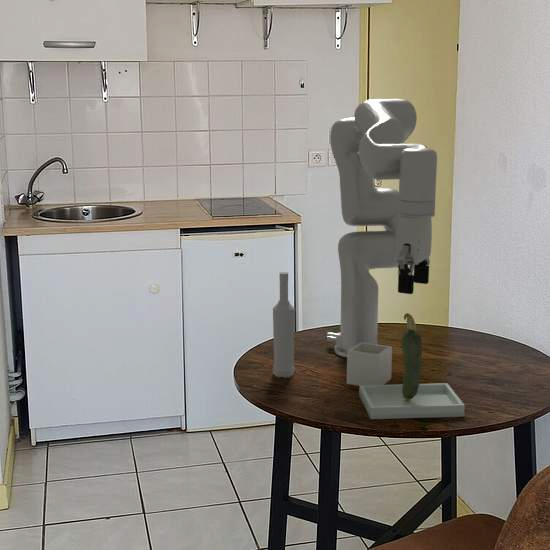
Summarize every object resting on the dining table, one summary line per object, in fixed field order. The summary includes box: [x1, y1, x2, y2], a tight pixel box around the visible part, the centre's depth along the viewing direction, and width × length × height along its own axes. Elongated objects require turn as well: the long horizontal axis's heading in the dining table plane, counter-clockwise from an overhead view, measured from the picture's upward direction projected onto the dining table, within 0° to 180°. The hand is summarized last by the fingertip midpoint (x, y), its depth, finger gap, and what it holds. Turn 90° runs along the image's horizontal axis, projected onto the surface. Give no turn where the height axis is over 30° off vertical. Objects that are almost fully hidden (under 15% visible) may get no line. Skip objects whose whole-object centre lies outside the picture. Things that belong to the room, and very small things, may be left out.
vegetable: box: [401, 312, 423, 401], centre depth 196 cm, size 4×4×20 cm
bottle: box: [272, 271, 296, 379], centre depth 216 cm, size 5×5×25 cm
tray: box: [358, 382, 466, 420], centre depth 198 cm, size 20×14×2 cm
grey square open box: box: [346, 342, 393, 387], centre depth 213 cm, size 8×8×8 cm
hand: (413, 288), depth 193 cm, fingers open, 9 cm apart
